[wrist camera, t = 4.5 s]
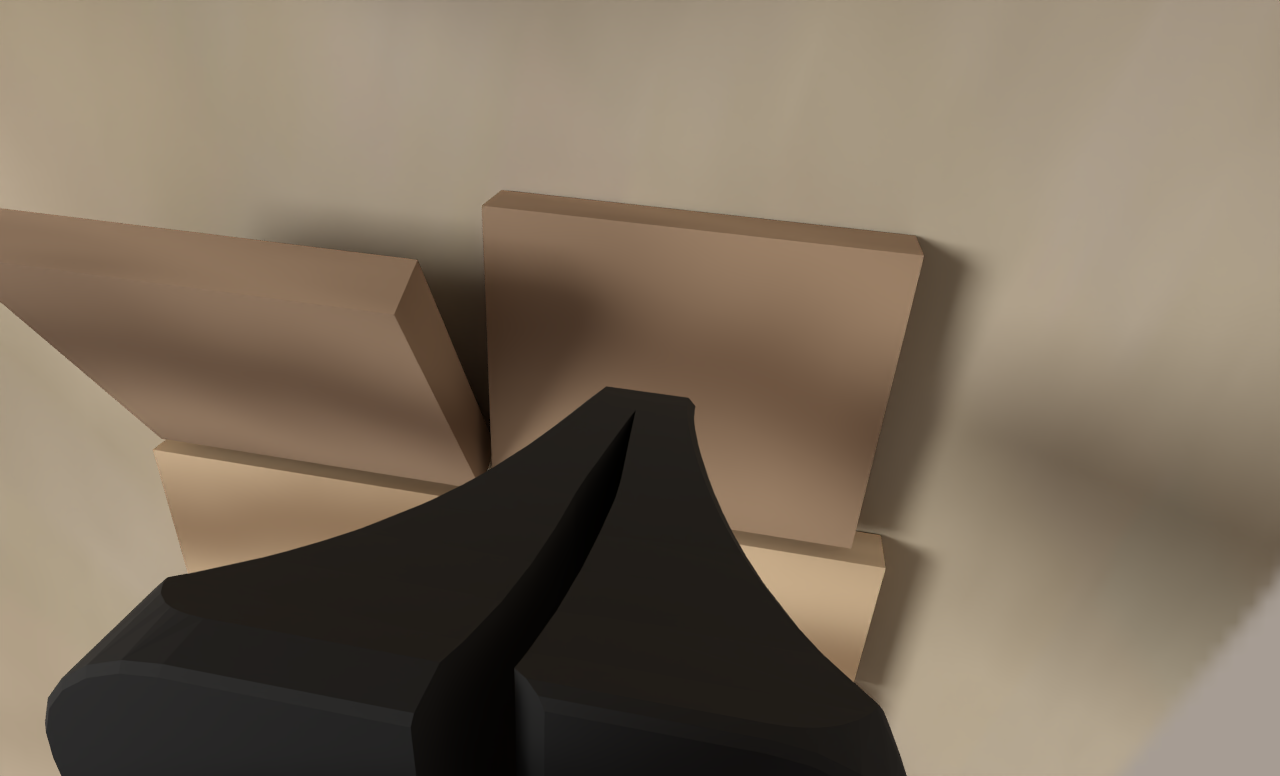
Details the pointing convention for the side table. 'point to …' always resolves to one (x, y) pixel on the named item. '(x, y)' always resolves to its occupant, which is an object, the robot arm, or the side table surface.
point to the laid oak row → (352, 499)
